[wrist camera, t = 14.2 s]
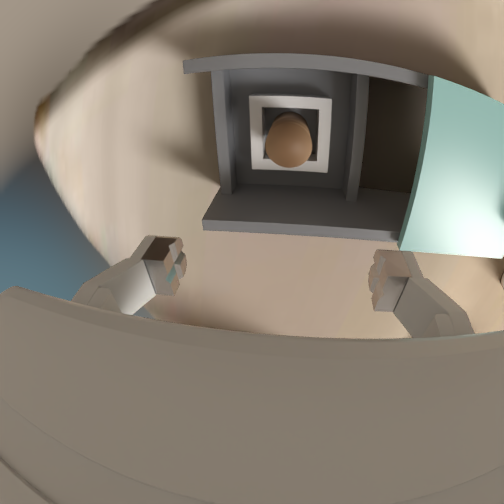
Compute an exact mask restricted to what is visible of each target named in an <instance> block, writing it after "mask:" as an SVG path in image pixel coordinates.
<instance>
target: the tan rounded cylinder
mask: <svg viewBox="0 0 504 504" xmlns="http://www.w3.org/2000/svg"><path fill="white" fill-rule="evenodd" d="M265 149H266V152H267V155H268V157H269V158H270V159H271V160H272V161H273V162H274V163H275V164H277V165H279V166H281V167H285V168H294V167H298V166H300V165H302V164H303V163H305V162H306V161H307V160H308V158H309V157H310V155H311V152H312V141H311V137H310V132H309V127H308V124H307V121H306V120H305V119H304V117H302V116H301V115H300V114H298V113H295V112H284V113H281V114H280V115H278V116H277V117H276V118H275V119H274V121H273V123H272V126H271V128H270V131H269V133H268V136H267V138H266V142H265Z"/></svg>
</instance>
